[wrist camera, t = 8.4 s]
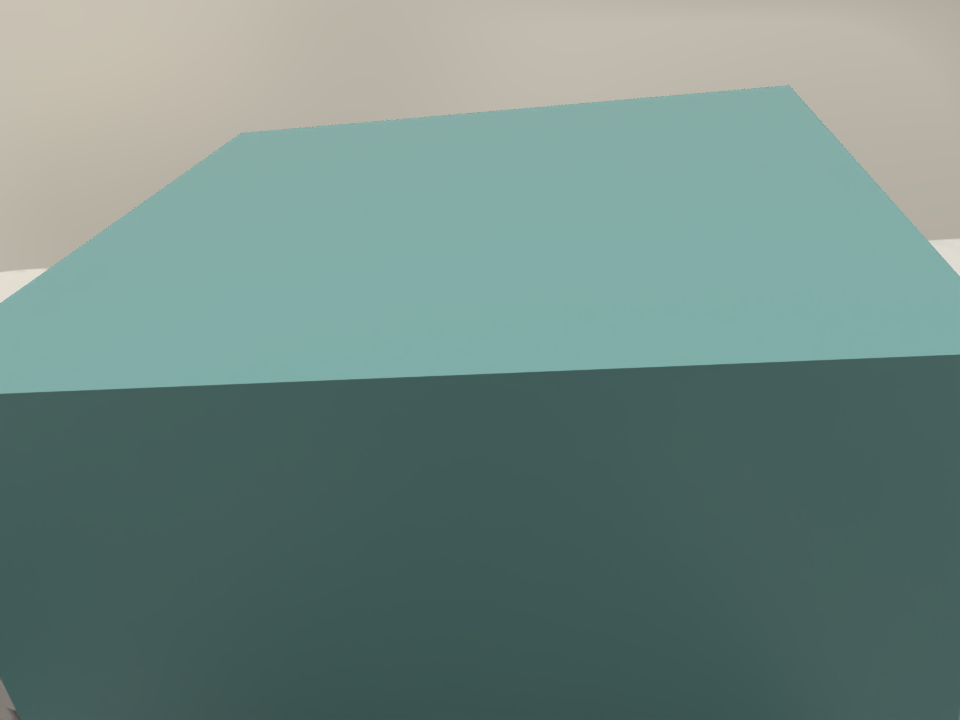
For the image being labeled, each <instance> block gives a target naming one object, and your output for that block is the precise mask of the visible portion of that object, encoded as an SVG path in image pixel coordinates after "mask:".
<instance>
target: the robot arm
mask: <svg viewBox="0 0 960 720" xmlns="http://www.w3.org/2000/svg"><path fill="white" fill-rule="evenodd" d="M0 720H21V719H20V717H19V715H18V713H17V711H16V709H15V707H14V705H13V703H12V701H11V699H10V697H9V695H8V693H7V691H6V689H5V686H4V684H3V682H2V680H1V678H0ZM959 720H960V715H959Z"/></svg>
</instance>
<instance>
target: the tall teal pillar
mask: <svg viewBox="0 0 960 720" xmlns="http://www.w3.org/2000/svg"><path fill="white" fill-rule="evenodd" d="M0 678H1V680H2V682H3V684H4V686H5V689H6V691H7V693H8V695H9V697H10V699H11V701H12V703H13V705H14V707H15V709H16V711H17V713H18V715H19V717H20V719H21V720H959V715H960V276H959V275H958V274H957V273H956V272H955V271H954V270H953V268H952V267H951V266H950V265H949V264H948V263H947V262H946V261H945V260H944V258H943V257H942V256H941V255H940V254H939V253H938V252H937V251H936V249H935V248H934V247H933V246H932V245H931V244H930V243H929V242H928V240H927V239H926V238H925V237H924V236H923V235H922V234H921V233H920V231H918V229H917V228H916V227H915V226H914V225H913V224H912V222H911V221H910V220H909V219H908V218H907V217H906V216H905V215H904V214H903V212H902V211H901V210H900V209H899V208H898V207H897V206H896V205H895V203H894V202H893V201H892V200H891V199H890V198H889V197H888V196H887V195H886V193H885V192H884V191H883V190H882V189H881V188H880V187H879V185H878V184H877V183H876V182H875V181H874V180H873V179H872V178H871V176H870V175H869V174H868V173H867V172H866V171H865V170H864V169H863V168H862V166H861V165H860V164H859V163H858V162H857V161H856V160H855V159H854V157H853V156H852V155H851V154H850V153H849V152H848V151H847V150H846V148H844V146H843V145H842V144H841V143H840V142H839V141H838V139H837V138H836V137H835V136H834V135H833V134H832V133H831V132H830V130H829V129H828V128H827V127H826V126H825V125H824V124H823V123H822V121H821V120H820V119H819V118H818V117H817V116H816V115H815V114H814V113H813V111H812V110H811V109H810V108H809V107H808V106H807V105H806V104H805V102H804V101H803V100H802V99H801V98H800V97H799V96H798V95H797V93H796V92H795V91H794V90H793V89H792V88H791V87H790V86H789V85H787V86H776V87H766V88H753V89H742V90H731V91H719V92H707V93H697V94H684V95H673V96H661V97H650V98H640V99H639V98H638V99H627V100H615V101H604V102H592V103H581V104H570V105H558V106H547V107H535V108H523V109H513V110H500V111H489V112H477V113H466V114H456V115H455V114H454V115H443V116H432V117H421V118H410V119H409V118H408V119H397V120H387V121H374V122H364V123H351V124H340V125H328V126H317V127H305V128H294V129H283V130H271V131H259V132H249V133H241V134H239V135H238V136H236V137H235V138H234V139H232V140H231V141H229V142H228V143H226V144H225V145H224V146H222V147H221V148H219V149H218V150H217V151H215V152H214V153H212V154H211V155H209V156H208V157H207V158H205V159H204V160H203V161H201V162H200V163H198V164H197V165H195V166H194V167H193V168H191V169H190V170H188V171H187V172H185V173H184V174H183V175H181V176H180V177H178V178H177V179H176V180H174V181H173V182H171V183H170V184H168V185H167V186H166V187H164V188H163V189H161V190H160V191H159V192H157V193H156V194H154V195H153V196H151V197H150V198H149V199H147V200H146V201H144V202H143V203H142V204H140V205H139V206H137V207H136V208H135V209H133V210H132V211H130V212H129V213H128V214H126V215H125V216H123V217H122V218H120V219H119V220H118V221H116V222H115V223H113V224H112V225H110V226H109V227H108V228H106V229H105V230H103V231H102V232H100V233H99V234H98V235H96V236H95V237H93V238H92V239H91V240H89V241H88V242H86V243H85V244H83V245H82V246H81V247H79V248H78V249H76V250H75V251H74V252H72V253H71V254H69V255H68V256H67V257H65V258H64V259H62V260H61V261H60V262H58V263H57V264H55V265H54V266H52V267H51V268H50V269H48V270H47V271H45V272H44V273H42V274H41V275H40V276H38V277H37V278H35V279H34V280H33V281H31V282H30V283H28V284H27V285H25V286H24V287H23V288H21V289H20V290H18V291H17V292H16V293H14V294H13V295H11V296H10V297H8V298H7V299H6V300H4V301H3V302H1V303H0Z"/></svg>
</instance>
